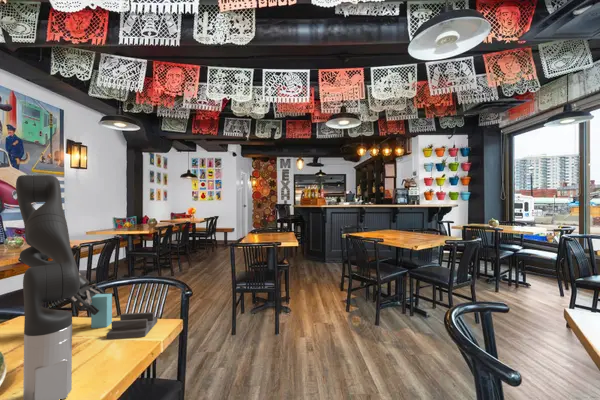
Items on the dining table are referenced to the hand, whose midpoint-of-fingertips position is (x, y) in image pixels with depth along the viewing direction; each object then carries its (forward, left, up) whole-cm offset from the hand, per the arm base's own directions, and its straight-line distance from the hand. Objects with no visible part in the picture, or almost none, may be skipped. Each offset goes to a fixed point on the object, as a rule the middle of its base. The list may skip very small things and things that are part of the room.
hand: (103, 309), depth 114 cm
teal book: (0, 0, -7) cm, 7 cm away
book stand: (-14, -7, -7) cm, 17 cm away
